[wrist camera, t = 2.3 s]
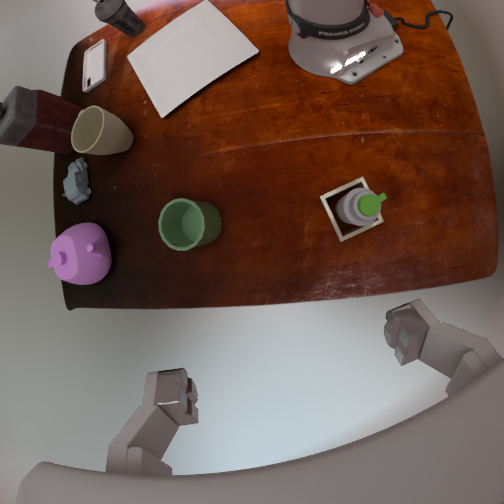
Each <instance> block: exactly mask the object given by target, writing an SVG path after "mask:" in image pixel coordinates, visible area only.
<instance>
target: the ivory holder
mask: <svg viewBox="0 0 504 504" xmlns="http://www.w3.org/2000/svg"><path fill="white" fill-rule="evenodd" d="M355 186H356V187H357V188H366V189H369V187H368V185H367V183H366V181H365V179H364V177H361V178H358V179H356V180H354V181H352V182H350V183H348V184H345V185H343V186H341V187H339V188H337V189H335V190H333V191H330V192H328V193H326V194H324V195H322V196H320V199H319V200H320V202H321V204H322V206H323V208H324V210H325V212H326V214H327V216H328V218H329V221H330V223H331V225H332V227H333V229H334V232H335V234H336V236H337V238H338V239H339V241H340V242H342V241H344V240H346V239H348V238H351V237H353V236H355V235H357V234H359V233H361V232H363V231H365V230H368V229H370V228H372V227H374V226H376V225H378V224H380V223H382V222H384V221H383V218H382V216H381V214H380V213H379V215H378V217H377V219H376V220H375V221H374V222H373V223H372V224H369V225H367V226H356V227H354V228H352V229H350V230H347V231H345V232H343V233H341V232H340V229H339V227H338V225H337V223H336V221H335V218H334V216H333V214H332V212H331V210H330V208H329V206H328V203H327V201H326V200H327V199H329V198H331V197H333V196H336V195H338V194H340V193H342V192H344V191H346V190H348V189H351V188H353V187H355ZM369 190H370V189H369Z"/></svg>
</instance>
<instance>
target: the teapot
mask: <svg viewBox="0 0 504 504" xmlns="http://www.w3.org/2000/svg"><path fill="white" fill-rule="evenodd" d="M51 258H52V259H51V260H48V266H49V268H54V270H55V273H56V275H57V276H58V278H60V279H62V280H64V281H67V282H70V283H74V284H80V285H87V284H93V283H96V282H98V281H100V280H101V279H103V278H104V277H105V276H106V275H107V273H108V271H109V270H110V267H111V263H112V257H111V250H110V246H109V242H108V239H107V236H106V233H105V232H104V230H103V229H102V228H101V227H100V226H99V225H97V224H95V223H81V224H77V225H75V226H72V227H70V228H69V229H67V230H66V231H64V232H63V233H62V234H61V235H60V236H58V237H57V238H56V239H55V241H54V242H53V243H52V246H51Z"/></svg>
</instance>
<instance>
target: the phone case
mask: <svg viewBox="0 0 504 504" xmlns="http://www.w3.org/2000/svg"><path fill="white" fill-rule="evenodd" d="M100 42H102V43H101V44H99V45H98V46H96V45H97V44H98V43H100ZM98 43H97V44H95V45H94V46H96V47H95V48H93V47H94V46H92V47H91V48H93V49H92V50H90V49H91V48H89V49H88V50H87V51H85V53H84V66H83V91H84V92H86V93H87V92H88V91H90V90H91V89H93V88H94V87H96V86H97V85H99V84H100V83H102V82H103V81H105V80H106V50H107V41H106V40H104V39H102V40H101V41H99V42H98ZM89 50H90V51H89ZM90 77H91V86H89V87H88V88H87V80H88V79H89V78H90ZM84 79H85V87H84Z"/></svg>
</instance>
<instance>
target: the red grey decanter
mask: <svg viewBox="0 0 504 504" xmlns="http://www.w3.org/2000/svg"><path fill="white" fill-rule="evenodd" d="M83 109H84V110H85V108H83V107H80V106H77V105H74V104H72V103H69V102H66V101H63V99H62V97H60V96H57V95H54V94H51V93H48V92H46V91H42V90H30V89H26V88H23V87H20V86H15V87H14V88H13V90H12V91H11V92H10V93H9V95H8V96H7V97H6V99H5V100H4V101H3V102H2V103H1V102H0V144H4V145H11V146H18V147H25V148H32V149H39V150H44V151H50V152H56V153H62V154H69V153H70V152H72V151H73V150H74V148H73V146H72V141H71V134H72V129H73V126H74V123H75V121H76V119H77V118H78V115H79V113H80V111H81V110H83Z"/></svg>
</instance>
